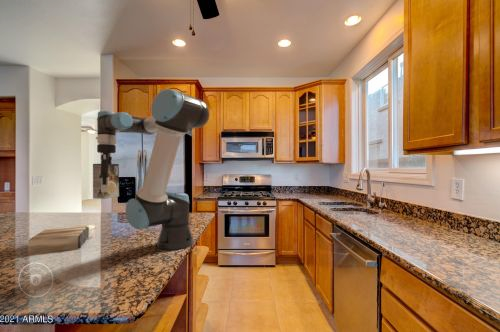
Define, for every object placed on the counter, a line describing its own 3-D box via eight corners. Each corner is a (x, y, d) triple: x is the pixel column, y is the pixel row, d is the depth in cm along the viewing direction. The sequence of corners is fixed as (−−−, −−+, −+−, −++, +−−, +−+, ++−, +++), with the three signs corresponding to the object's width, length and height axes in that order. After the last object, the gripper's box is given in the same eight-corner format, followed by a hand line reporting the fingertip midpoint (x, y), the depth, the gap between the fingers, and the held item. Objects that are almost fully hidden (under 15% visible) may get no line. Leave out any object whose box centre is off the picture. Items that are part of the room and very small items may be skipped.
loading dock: (80, 249, 100) (80, 234, 100) (28, 255, 92) (28, 239, 93) (88, 238, 116) (88, 225, 116) (45, 242, 109) (45, 229, 109)
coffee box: (108, 196, 117) (108, 164, 117) (119, 196, 115) (119, 163, 116) (92, 198, 108) (92, 163, 108) (104, 198, 106) (104, 163, 107)
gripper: (101, 146, 121) (100, 189, 120) (92, 141, 100) (92, 193, 100) (117, 147, 124) (117, 189, 124) (113, 142, 103) (112, 192, 103)
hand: (106, 191), depth 112 cm, fingers closed on coffee box, 10 cm apart
